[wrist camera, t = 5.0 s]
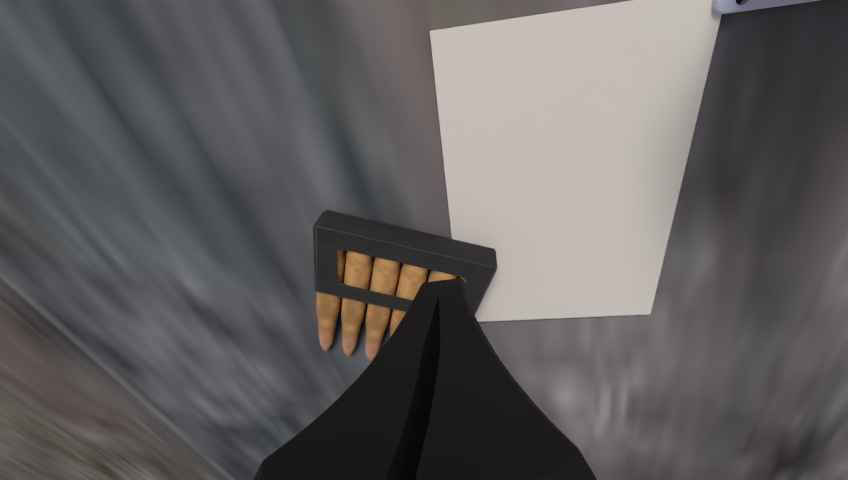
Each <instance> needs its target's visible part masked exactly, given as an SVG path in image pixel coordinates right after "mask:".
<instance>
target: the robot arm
mask: <svg viewBox="0 0 848 480" xmlns="http://www.w3.org/2000/svg"><path fill="white" fill-rule="evenodd" d="M813 1H820V0H742V2H741V3H740V4H738V5H737V3H736V0H713V1H712V9H713V11H714V12H715V13H717V14H728V13H735V12H742V11H750V10H757V9H764V8H771V7H778V6H785V5H792V4H799V3H806V2H813ZM253 480H597V479H596V477H595V476H594V474H593V472H592V470H591V469H590V467H589V465H588V464H587V462H586V460H585V459H584V457H583V456H582V454H581V452H580V451H579V449H578V448H577V447H576V446H575V445H574V444H573V443H572V442H571V441H570V440H569V439H568V438H567V437H566V436H565V435H564V434H563V433H562V432H561V431H560V430H559V429H558V428H557V427H556V426H555V425H554V424H553V423H552V422H551V421H550V420H549V419H548V418H547V417H546V416H545V415H544V413H543V412H542V411H541V410H540V409H539V408H538V407H537V406H536V405H535V404H534V402H533V401H532V400H531V399H530V398H529V396H528V395H527V394H526V393H525V392H524V390H523V389H522V388H521V387H520V386H519V384H518V383H517V382H516V381H515V380H514V378H513V377H512V376H511V374H510V373H509V371H508V370H507V369H506V367H505V366H504V365H503V363H502V362H501V360H500V359H499V357H498V356H497V354H496V353H495V351H494V350H493V348H492V346H491V345H490V343H489V341H488V340H487V338H486V336H485V334H484V333H483V331H482V329H481V327H480V325H479V323H478V321H477V319H476V317H475V315H474V313H473V310H472V308H471V306H470V303H469V300H468V296H467V290H466V285H465V281H464V280H463V279H461V278H457V279H448V280H440V281H432V282H423V284H422V285H421V286H420V288H419V290H418V292H417V294H416V296H415V298H414V299H413V301H412V303H411V305H410V306H409V308H408V310H407V312H406V313H405V315H404V317H403V318H402V320H401V321H400V323H399V325H398V326H397V328H396V329H395V331H394V332H393V334H392V335H391V337H390V338H389V340H388V341H387V342H386V344H385V345H384V347H383V348H382V349H381V351H380V352H379V353H378V355H377V356H376V357H375V359H374V360H373V361H372V362H371V364H370V365H369V366H368V367H367V368H366V370H365V371H364V372H363V373H362V374H361V375H360V377H359V378H358V379H357V380H356V381H355V382H354V383H353V384H352V385H351V386H350V387H349V388H348V389H347V390H346V391H345V392H344V393H343V394H342V395H341V396H340V398H339V399H338V400H337V401H335V402H334V403H333V404H332V405H331V406H330V407H329V408H328V409H327V410H326V411H325V412H324V413H322V414H321V415H320V416H319V417H318V418H317V419H316V420H314V421H313V422H312V423H311V424H310V425H309V426H307V427H306V428H305V429H304V430H303V431H301V432H300V433H299V434H298V435H296V436H295V437H294V438H292V439H291V440H290V441H288V442H287V443H286V444H285V445H283V446H282V447H281V448H279V449H278V450H277V451H275V452H274V453H273V454H272V455H270V456H269V457H267V458H266V459H265V460H263V462H262V464H261V466H260V467H259V469H258V471H257V473H256V475H255V477H254V479H253Z"/></svg>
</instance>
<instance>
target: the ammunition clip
mask: <svg viewBox="0 0 848 480" xmlns="http://www.w3.org/2000/svg"><path fill="white" fill-rule="evenodd" d="M313 237H314V271H315V291H316V292H317V301H316V312H317V317H318V327H319V340H320V344H321V347H322V349H323V350H324V351H327V350H328V349H329V348H330V346H331V344H332V342H333V338H334V334H335V328H336V323H337V319H338V316H339V313H340V307H341V297H342V309H341V321H342V346H343V350H344V353H345V355H346V356H349V355H350V354H351V353H352V352H353V350H354V348H355V346H356V343H357V340H358V335H359V332H360V327H361V324H362V322H363V320H364V315H365V309H366V303H368V306H367V313H366V321H365V324H366V340H365V353H366V357H367V359H368V360H369V361H372V360H373V359H374V358H375V356H376V355H377V353H378V351H379V348H380V345H381V342H382V338H383V335H384V332H385V330H386V328H387V326H388V323H389V318H390V314H391V309H393V312H392V317H391V322H390V337H391V335H392V334H393V332H394V331H395V329H396V328H397V326H398V325H399V323H400V321H401V320H402V318H403V317H404V315H405V313H406V312H407V310H408V308H409V306H410V305H411V303H412V301H413V299H414V298H415V296H416V294H417V292H418V290H419V288H420V286H421V285H422V284H423V282H426V279H427V276H428V272H429V269H430V270H431V271H430V275H429V278H428V282H432V281H440V280H448V279H457V276H459V278H461V279H463V280H464V281H465V285H466V290H467V296H468V300H469V303H470V306H471V308H472V310H473V313H474V315H475V314H476V312H477V310H478V308H479V305H480V303H481V301H482V299H483V297H484V295H485V293H486V291H487V289H488V287H489V285H490V283H491V281H492V279H493V277H494V274H495V272H496V270H497V258H496V251H495V249H493V248H489V247H485V246H480V245H476V244H472V243H467V242H463V241H459V240H455V239H450V238H446V237H442V236H437V235H433V234H429V233H424V232H420V231H416V230H411V229H407V228H403V227H399V226H394V225H390V224H386V223H381V222H377V221H373V220H368V219H364V218H360V217H355V216H351V215H347V214H343V213H338V212H334V211H330V210H327V211H325V212H323V213H322V215H321V216H320V217H319V219H318V220H317V222H316V223H315V225H314V226H313ZM346 250H347V253H346ZM374 257H375V259H374ZM373 259H374V266H373ZM401 264H402V268H401ZM372 266H373V272H372ZM400 268H401V273H400ZM399 273H400V278H398V277H399ZM343 279H344V284H343ZM369 285H371V286H370V290H369ZM395 291H397V292H396V296H395Z"/></svg>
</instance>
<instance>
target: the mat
mask: <svg viewBox="0 0 848 480" xmlns="http://www.w3.org/2000/svg"><path fill="white" fill-rule="evenodd" d="M712 1H713V0H632V1H625V2H618V3H612V4H605V5H599V6H592V7H585V8H579V9H572V10H565V11H559V12H552V13H546V14H539V15H532V16H526V17H519V18H513V19H506V20H499V21H493V22H486V23H480V24H473V25H466V26H460V27H453V28H446V29H440V30H433V31H430V38H431V48H432V57H433V66H434V76H435V85H436V94H437V104H438V113H439V122H440V132H441V141H442V150H443V160H444V169H445V178H446V188H447V197H448V206H449V216H450V225H451V234H452V239H455V240H459V241H463V242H467V243H472V244H476V245H480V246H485V247H489V248H493V249H495V251H496V258H497V270H496V272H495V274H494V277H493V279H492V281H491V283H490V285H489V287H488V289H487V291H486V293H485V295H484V297H483V299H482V301H481V303H480V305H479V308H478V310H477V312H476V314H475V317H476V319H477V321H478V322H484V321H507V320H530V319H553V318H576V317H599V316H622V315H645V314H651V310H652V306H653V301H654V297H655V293H656V289H657V285H658V280H659V276H660V272H661V268H662V264H663V259H664V255H665V251H666V247H667V243H668V238H669V234H670V230H671V226H672V221H673V217H674V213H675V209H676V205H677V200H678V196H679V192H680V188H681V184H682V179H683V175H684V171H685V167H686V163H687V158H688V154H689V150H690V146H691V142H692V137H693V133H694V129H695V125H696V121H697V116H698V112H699V108H700V104H701V100H702V95H703V91H704V87H705V83H706V79H707V74H708V70H709V66H710V62H711V58H712V53H713V49H714V45H715V41H716V37H717V32H718V28H719V24H720V20H721V16H722V14H717V13H715V12H714V11H713V9H712ZM457 278H459V276H457Z"/></svg>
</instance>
